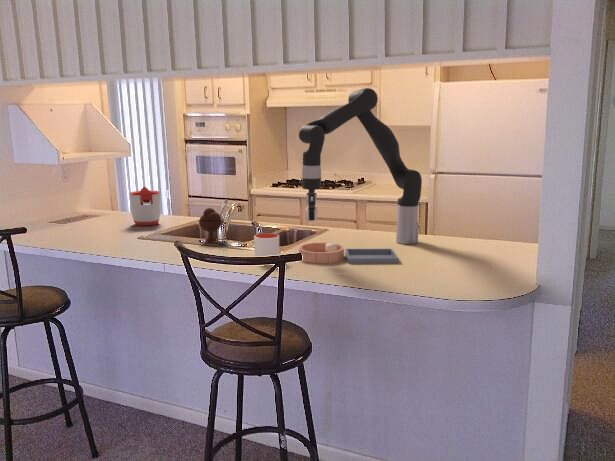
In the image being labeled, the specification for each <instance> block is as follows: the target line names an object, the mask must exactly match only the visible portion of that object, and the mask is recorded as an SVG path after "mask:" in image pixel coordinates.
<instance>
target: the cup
mask: <svg viewBox="0 0 615 461" xmlns="http://www.w3.org/2000/svg"><path fill="white" fill-rule="evenodd" d="M253 240H254V241H253V242H254V243H253V244H254V245H253V247H254V249H253V250H254V251H253V252H254V257H255V256H266V255H278V254H279V255H280V234H277V233H273V232H272V233H271V232H267V233H266V232H263V233H257V234H255V235H254V236H253Z"/></svg>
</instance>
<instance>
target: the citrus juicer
mask: <svg viewBox="0 0 615 461" xmlns="http://www.w3.org/2000/svg"><path fill="white" fill-rule="evenodd" d="M129 199H130V212H131V217H132V220H133V222H134V224H135V225H136V226H139V227H143V226H156V225H157V224H158V223H159V221H160V217H161V192H160V191H159V190H150V189H148V187H146V186H143V187H142V188H141V189H140V190H136V191H131V192H129Z"/></svg>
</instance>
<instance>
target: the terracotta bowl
mask: <svg viewBox="0 0 615 461" xmlns="http://www.w3.org/2000/svg"><path fill="white" fill-rule="evenodd" d="M327 243H328V242H325V241H324V242H322V241H320V242H315V241H314V242H308V243H304V244H302V245H299V246H298V254H299V253H301V254H302V255H303V261H304V262H303V261H302V262H303V263H305V262H308V263H307V264H310V263H315V264H329V263H336V262H340V261H342V260H343V259H344V258H345V256H344V254H345V247H344V245H342V244H339V243H336V244H337V251H333V252H325V248H326V244H327Z"/></svg>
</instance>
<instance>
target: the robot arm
mask: <svg viewBox="0 0 615 461" xmlns="http://www.w3.org/2000/svg"><path fill="white" fill-rule="evenodd" d="M347 100H348V103H346V104H344V105H341V106H339V107H337V108H335V109H333V110H331V111H329V112H328V113H326V114H325V115H323V116H322V117H320V118H318V119H315V120H313V121H311V122H308V123H305V125H303V126H302V127H301V128H300V130H299V132H298V138H299V139H300V141H301V142H302V143H303V144H309V147H308V149H306V150H304V151H303V153H302V169H301V176H302V177H301V178H302V180H301V183H302V184H301V188H302V189H303V190H308V192H306V200H307V201H306V202H307V203H306V204H307V207H309V208H308V210H309V220H310V221H309V222H312V221H311V220H314V211H315V207H316V206H317V195H318V194H317V192H315V190H320V189H321V188H322V169H321V168H322V166H321V165H322V164H321V156H322V151H323V147H324V143H325V137H326V136H325V135H329V134H330V133H333V132H334V131H335V130H337V129H339V128H340V127H341V126H343V125H344V124H346V123H347V122H349V121H350V120H352V119H353V118H355V117H356V118H357V119H358V120H359V122H360V124H361V125H362V126H363V127H364V129H365V131H366V132H367V134H368V135H369V137H370V139H371V140H372V143H373V144H374V146H375V148H376V149H377V151H378V153H379V154H380V156H381V157H382V159H383V161H384V162H385V164H386V166H387V168H388V170H389V172H390V175H391V176H392V179H393V180H394V182H395V184H396V186H397V187H398V188H399V189H401V190H403V192H402V196H400V197H399V198H397V212H396V214H397V215H396V216H397V217H396V238H395V239H396V241H395V242H396V243H398V244H401V245H415V244H419V224H420V223H419V220H418V219H419V218H418V217H419V202H420V200H421V196H422V183H423V181H422V180H423V179H422V175H421V173H420V172H419V171H418V170H415V169H410V168H408V167H407V166H406V164H405V163H404V161H403V159H402V157H401V154H400V144H399V142H398V139H397V138H396V136H395V134H394V132H393V131H392V129H391V128H390V127H389V126H388V125H386V124H385V123H384V122H382V121H381V120H379V118H377V117H376V116H375V115H374V113H373V112H372V111H371V110H373V109H375V107H377V103H378V100H379V99H378V94H377V92H376V91H375V89H373V88H370V87H366V88H365V87H364V88H361V89H357V90H354V91H352V92H350V93H349V95H348V98H347ZM311 206H312V207H311Z"/></svg>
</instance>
